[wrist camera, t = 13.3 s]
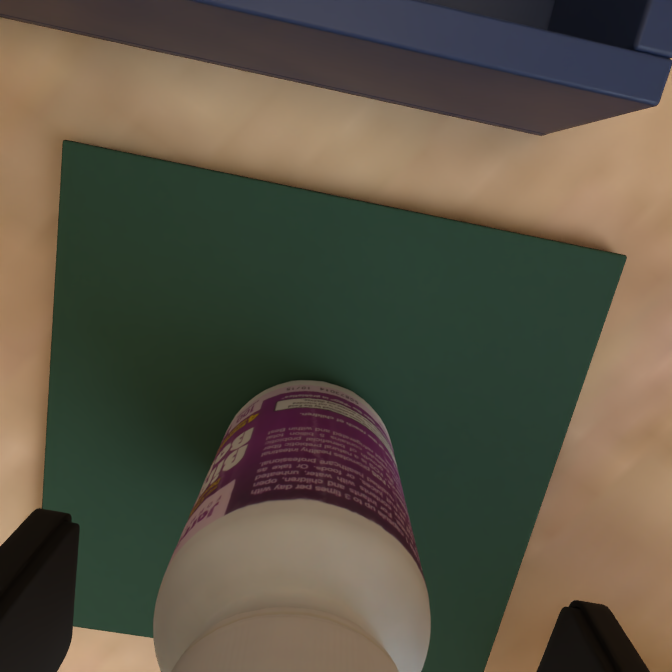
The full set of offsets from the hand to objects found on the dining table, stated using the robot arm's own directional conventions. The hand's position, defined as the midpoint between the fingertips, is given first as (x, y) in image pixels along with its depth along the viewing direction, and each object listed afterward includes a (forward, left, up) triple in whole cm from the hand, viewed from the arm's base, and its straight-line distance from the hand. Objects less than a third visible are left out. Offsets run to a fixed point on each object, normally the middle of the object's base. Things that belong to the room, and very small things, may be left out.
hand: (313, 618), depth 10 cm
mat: (0, 0, -7) cm, 7 cm away
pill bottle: (0, 0, -7) cm, 7 cm away
